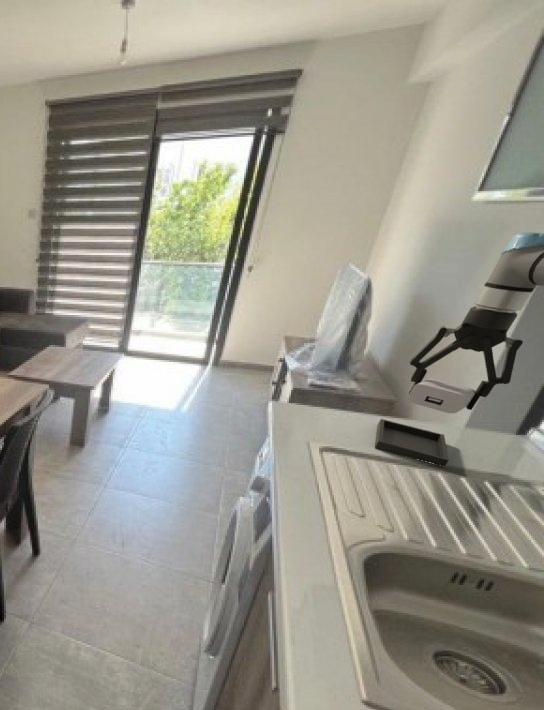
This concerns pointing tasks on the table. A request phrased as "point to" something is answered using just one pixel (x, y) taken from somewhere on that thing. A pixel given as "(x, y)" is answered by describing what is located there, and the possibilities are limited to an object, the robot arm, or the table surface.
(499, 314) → the robot arm
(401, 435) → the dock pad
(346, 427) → the table surface
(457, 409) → the charger
